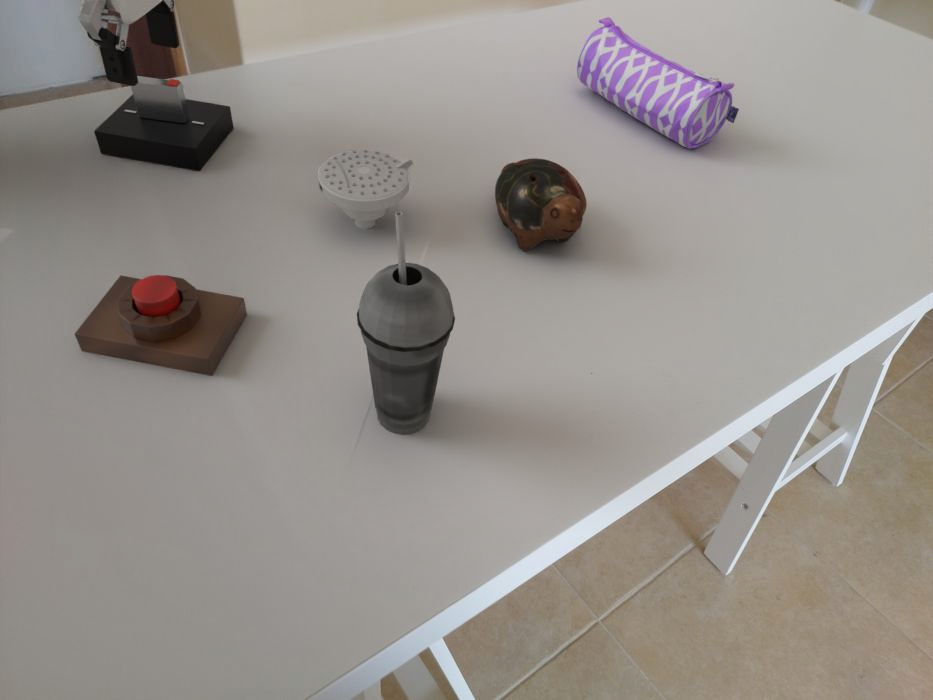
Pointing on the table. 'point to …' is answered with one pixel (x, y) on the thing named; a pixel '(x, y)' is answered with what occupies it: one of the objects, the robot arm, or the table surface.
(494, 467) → the table surface
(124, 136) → the black lever switch box
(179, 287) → the button block
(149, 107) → the grey rectangular plate
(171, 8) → the robot arm
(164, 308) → the stop button
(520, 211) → the decorative turtle
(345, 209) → the showerhead
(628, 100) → the pencil case
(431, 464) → the table surface
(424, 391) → the beverage cup
